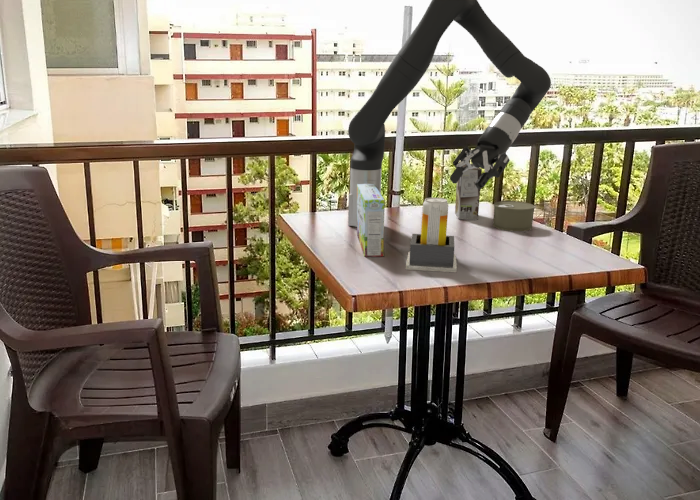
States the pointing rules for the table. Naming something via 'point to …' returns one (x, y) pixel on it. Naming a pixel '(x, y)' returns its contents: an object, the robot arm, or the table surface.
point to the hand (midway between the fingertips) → (464, 184)
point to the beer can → (434, 221)
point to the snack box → (370, 220)
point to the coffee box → (468, 195)
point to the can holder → (431, 255)
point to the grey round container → (513, 215)
